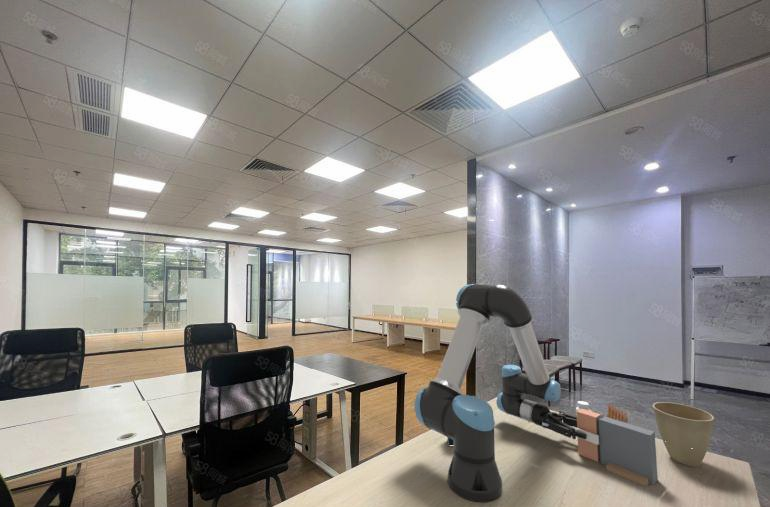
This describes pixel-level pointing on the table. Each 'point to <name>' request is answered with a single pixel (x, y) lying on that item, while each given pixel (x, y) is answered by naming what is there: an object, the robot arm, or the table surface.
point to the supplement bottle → (582, 406)
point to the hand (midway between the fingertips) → (603, 437)
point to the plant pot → (684, 431)
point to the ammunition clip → (616, 414)
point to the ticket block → (627, 450)
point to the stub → (589, 424)
